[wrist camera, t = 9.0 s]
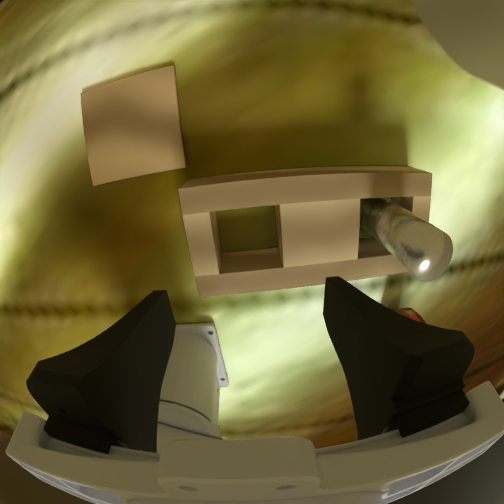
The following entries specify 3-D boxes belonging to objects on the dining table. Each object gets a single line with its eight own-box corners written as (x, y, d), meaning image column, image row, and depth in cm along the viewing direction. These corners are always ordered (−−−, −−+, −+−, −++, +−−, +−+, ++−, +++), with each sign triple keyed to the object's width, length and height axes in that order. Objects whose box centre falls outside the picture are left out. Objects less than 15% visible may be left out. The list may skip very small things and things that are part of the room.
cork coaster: (186, 166, 19) (185, 167, 19) (95, 185, 20) (93, 186, 19) (174, 66, 16) (173, 65, 16) (83, 93, 16) (80, 93, 16)
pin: (384, 220, 22) (451, 272, 13) (354, 229, 22) (412, 288, 13) (380, 187, 21) (453, 225, 12) (348, 195, 21) (412, 240, 12)
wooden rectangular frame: (401, 252, 23) (421, 269, 20) (204, 274, 23) (199, 297, 20) (408, 166, 20) (432, 173, 17) (188, 179, 20) (178, 189, 17)
